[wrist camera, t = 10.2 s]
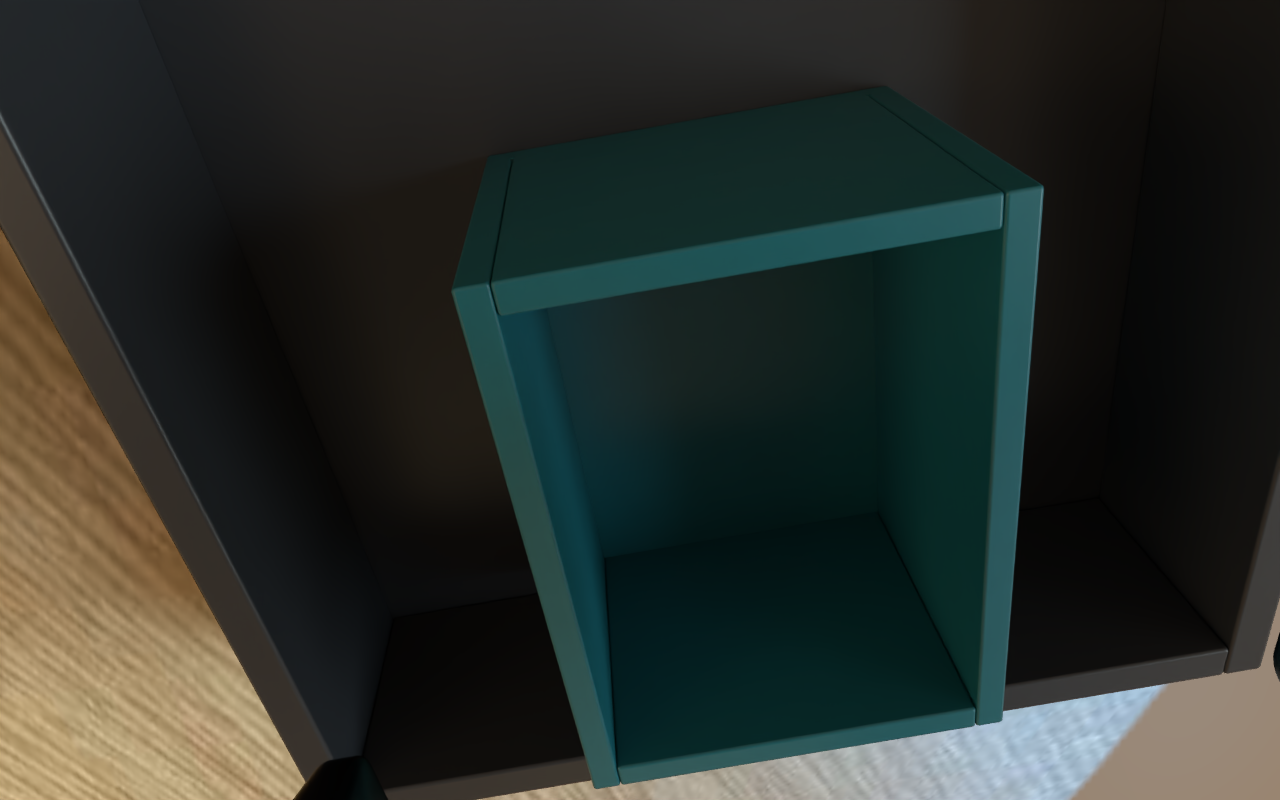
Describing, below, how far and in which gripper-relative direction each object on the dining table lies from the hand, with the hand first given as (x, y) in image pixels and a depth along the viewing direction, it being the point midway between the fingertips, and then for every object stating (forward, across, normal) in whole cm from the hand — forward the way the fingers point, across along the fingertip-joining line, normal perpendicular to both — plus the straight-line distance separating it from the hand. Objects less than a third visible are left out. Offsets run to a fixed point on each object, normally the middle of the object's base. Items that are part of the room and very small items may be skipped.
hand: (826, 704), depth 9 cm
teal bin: (+8, 0, 0) cm, 8 cm away
